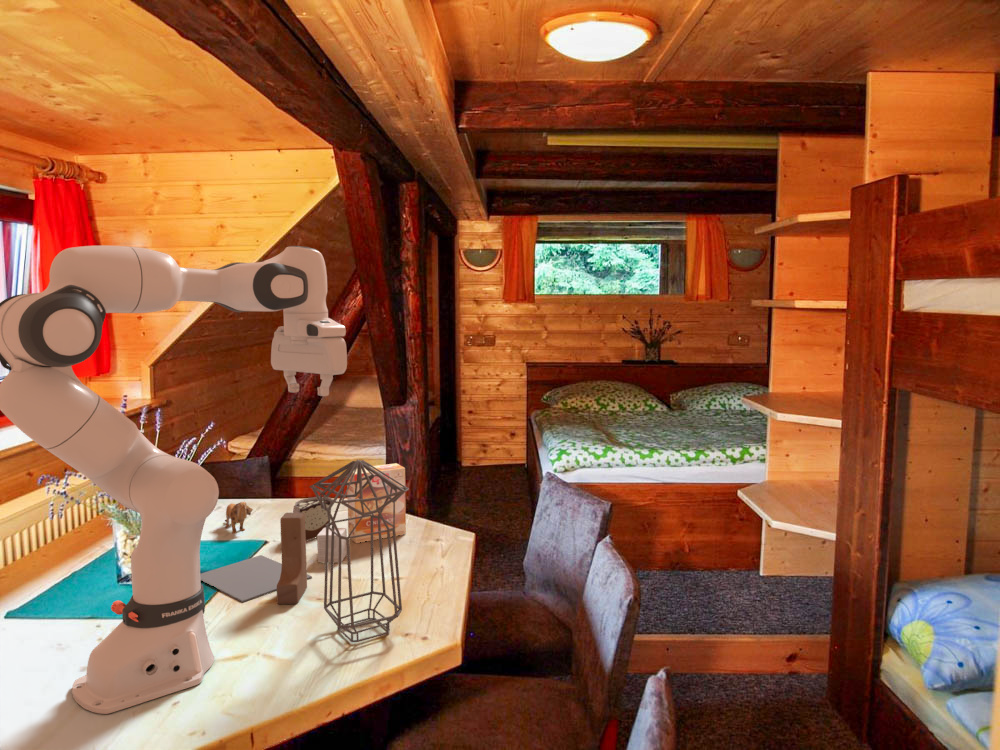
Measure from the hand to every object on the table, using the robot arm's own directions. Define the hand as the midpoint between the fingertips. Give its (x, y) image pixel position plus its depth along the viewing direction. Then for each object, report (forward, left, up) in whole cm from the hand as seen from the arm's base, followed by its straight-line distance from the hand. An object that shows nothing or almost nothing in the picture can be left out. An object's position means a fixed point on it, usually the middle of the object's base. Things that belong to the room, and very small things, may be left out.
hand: (308, 394), depth 146 cm
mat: (+1, +27, -47) cm, 54 cm away
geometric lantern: (0, -15, -47) cm, 49 cm away
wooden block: (+1, +10, -47) cm, 48 cm away
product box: (+21, +22, -47) cm, 56 cm away
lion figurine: (+18, +63, -47) cm, 81 cm away
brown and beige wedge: (+28, +42, -47) cm, 69 cm away
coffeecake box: (+40, +27, -47) cm, 67 cm away
